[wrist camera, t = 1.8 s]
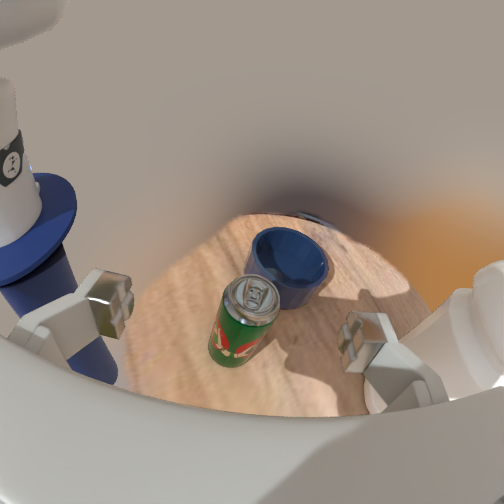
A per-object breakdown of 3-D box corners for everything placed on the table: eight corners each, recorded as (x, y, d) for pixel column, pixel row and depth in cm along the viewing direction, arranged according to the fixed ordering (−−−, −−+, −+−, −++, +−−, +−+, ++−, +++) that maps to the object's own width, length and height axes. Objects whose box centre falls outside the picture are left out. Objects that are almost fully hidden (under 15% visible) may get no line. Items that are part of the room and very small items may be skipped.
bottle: (347, 415, 27) (554, 274, 8) (374, 336, 37) (505, 193, 17) (417, 447, 24) (593, 350, 5) (433, 373, 34) (561, 263, 14)
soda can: (254, 339, 32) (288, 282, 24) (243, 375, 29) (278, 329, 20) (215, 325, 32) (235, 262, 24) (201, 360, 29) (216, 307, 20)
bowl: (239, 300, 36) (248, 277, 32) (247, 242, 44) (255, 219, 40) (316, 315, 37) (332, 296, 34) (312, 258, 45) (324, 238, 41)
